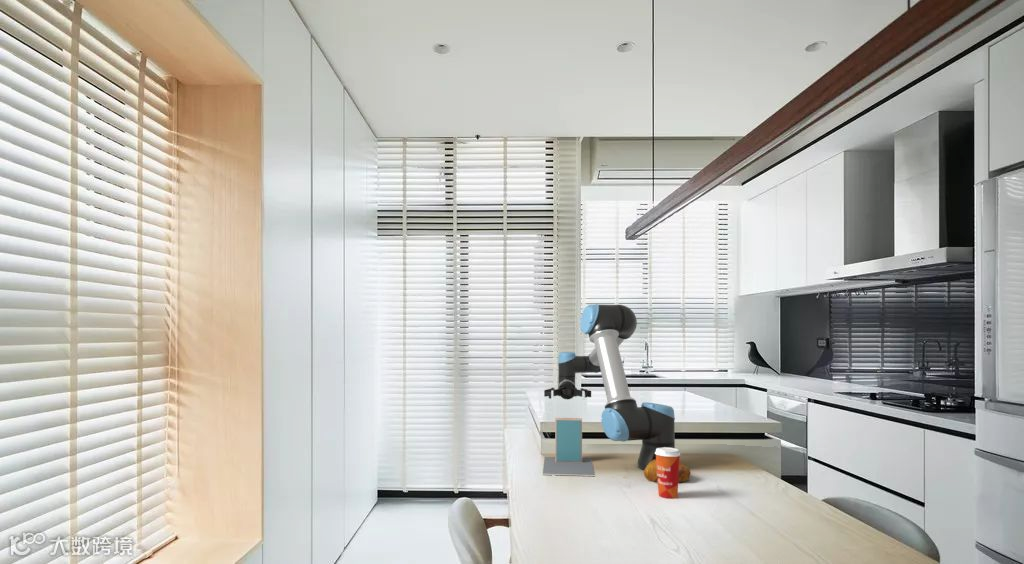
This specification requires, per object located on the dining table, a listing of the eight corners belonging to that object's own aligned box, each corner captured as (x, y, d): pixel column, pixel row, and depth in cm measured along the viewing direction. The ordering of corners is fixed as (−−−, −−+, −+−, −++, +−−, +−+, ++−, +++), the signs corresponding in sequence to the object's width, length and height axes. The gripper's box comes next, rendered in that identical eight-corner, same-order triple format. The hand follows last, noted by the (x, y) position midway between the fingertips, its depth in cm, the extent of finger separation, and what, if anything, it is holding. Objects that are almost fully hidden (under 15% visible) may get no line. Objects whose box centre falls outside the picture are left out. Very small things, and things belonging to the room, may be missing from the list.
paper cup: (649, 494, 183) (649, 448, 184) (669, 491, 186) (669, 446, 187) (666, 500, 176) (666, 453, 177) (686, 497, 179) (686, 450, 180)
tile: (555, 460, 224) (555, 417, 225) (581, 461, 224) (581, 418, 225) (555, 462, 222) (555, 418, 223) (582, 462, 221) (581, 419, 222)
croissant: (693, 491, 194) (696, 467, 195) (646, 484, 195) (649, 459, 195) (681, 478, 209) (685, 456, 209) (638, 471, 209) (641, 449, 210)
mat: (544, 458, 231) (544, 456, 231) (591, 459, 229) (591, 457, 229) (542, 475, 205) (542, 473, 205) (595, 476, 203) (594, 474, 203)
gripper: (595, 398, 253) (598, 406, 231) (539, 398, 255) (537, 405, 233) (595, 381, 254) (598, 386, 232) (539, 380, 255) (537, 385, 234)
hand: (568, 396), depth 233 cm, fingers open, 12 cm apart
